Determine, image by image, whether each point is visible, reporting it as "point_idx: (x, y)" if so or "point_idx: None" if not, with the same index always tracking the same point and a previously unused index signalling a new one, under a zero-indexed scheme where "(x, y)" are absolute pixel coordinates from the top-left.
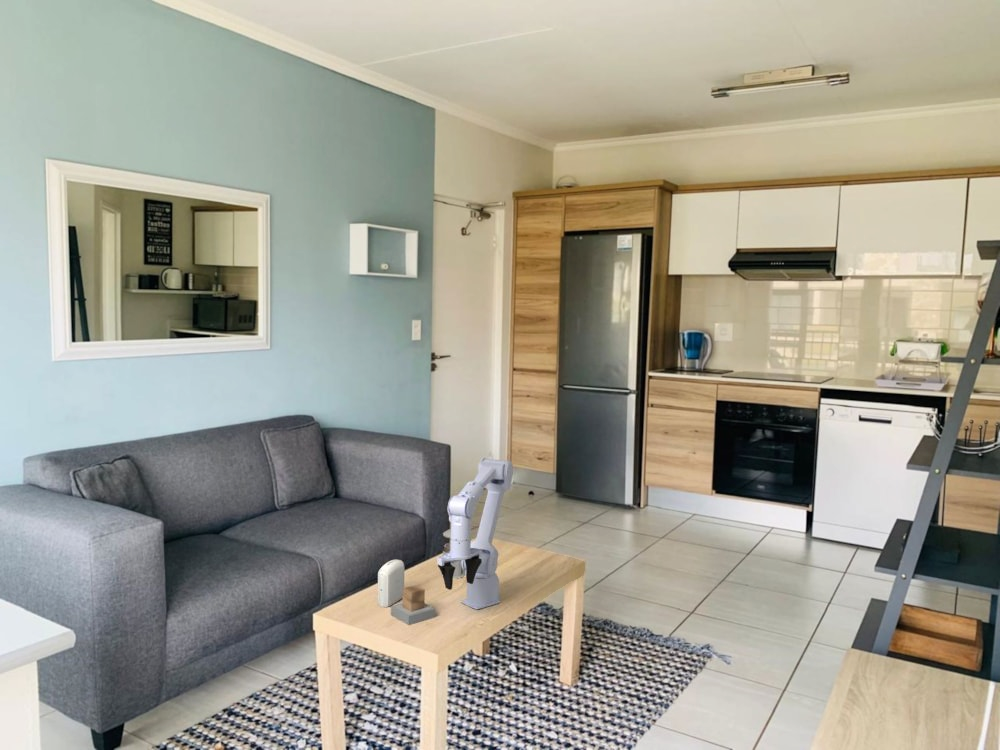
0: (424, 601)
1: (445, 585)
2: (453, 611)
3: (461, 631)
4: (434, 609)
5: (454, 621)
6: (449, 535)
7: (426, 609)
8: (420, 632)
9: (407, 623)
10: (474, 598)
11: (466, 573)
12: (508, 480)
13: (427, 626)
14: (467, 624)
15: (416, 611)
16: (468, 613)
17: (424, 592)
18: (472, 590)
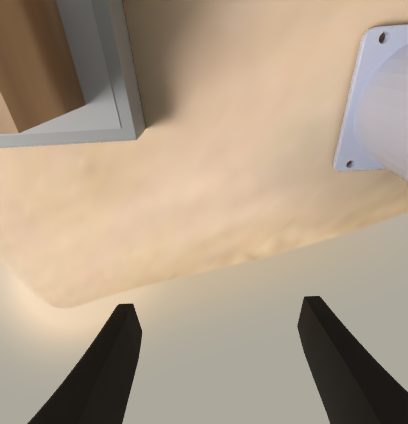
0: (67, 112)
1: (110, 320)
2: (250, 119)
3: (171, 264)
4: (133, 139)
5: (193, 202)
6: None
7: (91, 126)
8: (46, 211)
9: None
10: (374, 151)
11: (337, 349)
12: None
13: (85, 186)
14: (216, 240)
15: None
16: (284, 173)
17: (32, 126)
18: (400, 153)
